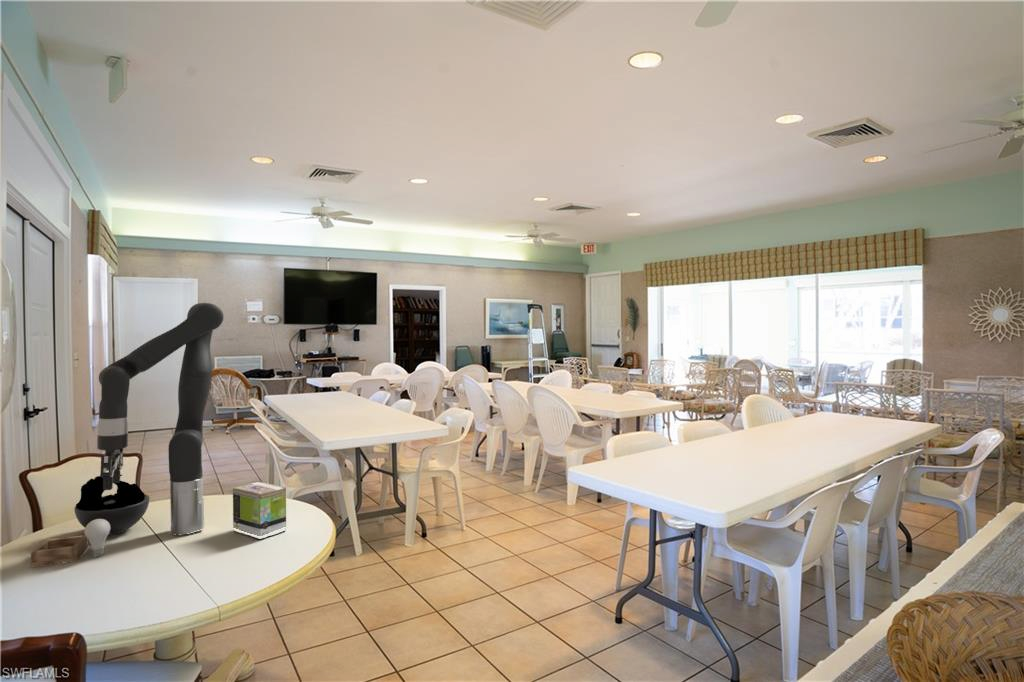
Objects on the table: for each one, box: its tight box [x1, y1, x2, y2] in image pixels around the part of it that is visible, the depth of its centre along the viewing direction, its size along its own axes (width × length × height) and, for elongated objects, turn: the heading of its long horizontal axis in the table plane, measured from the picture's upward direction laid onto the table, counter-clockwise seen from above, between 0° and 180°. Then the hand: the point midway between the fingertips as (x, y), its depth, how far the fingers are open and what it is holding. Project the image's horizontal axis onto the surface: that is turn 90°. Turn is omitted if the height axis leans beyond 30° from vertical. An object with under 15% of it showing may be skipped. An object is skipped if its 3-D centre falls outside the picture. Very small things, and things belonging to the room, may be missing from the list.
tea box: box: [232, 481, 287, 536], centre depth 186 cm, size 15×10×15 cm, turn 58°
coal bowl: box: [74, 474, 150, 535], centre depth 185 cm, size 20×20×19 cm
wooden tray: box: [29, 534, 90, 568], centre depth 165 cm, size 11×11×4 cm
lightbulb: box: [84, 519, 111, 558], centre depth 165 cm, size 6×6×11 cm
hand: (111, 486), depth 171 cm, fingers open, 8 cm apart
